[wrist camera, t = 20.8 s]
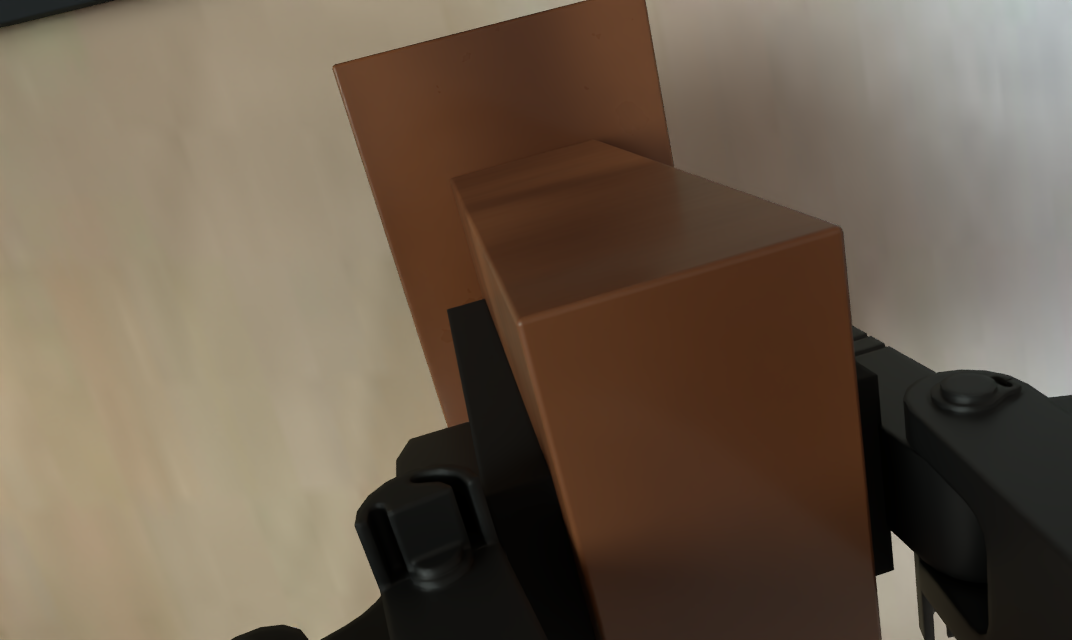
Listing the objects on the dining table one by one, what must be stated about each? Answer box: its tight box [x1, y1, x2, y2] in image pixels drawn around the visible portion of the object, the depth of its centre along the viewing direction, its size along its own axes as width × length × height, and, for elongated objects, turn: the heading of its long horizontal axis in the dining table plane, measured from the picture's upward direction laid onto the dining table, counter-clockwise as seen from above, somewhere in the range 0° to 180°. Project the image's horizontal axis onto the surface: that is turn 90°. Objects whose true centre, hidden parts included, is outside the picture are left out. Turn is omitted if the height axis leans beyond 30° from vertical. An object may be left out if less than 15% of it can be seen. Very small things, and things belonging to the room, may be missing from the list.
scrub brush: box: [333, 0, 882, 640], centre depth 13 cm, size 6×12×12 cm, turn 14°
